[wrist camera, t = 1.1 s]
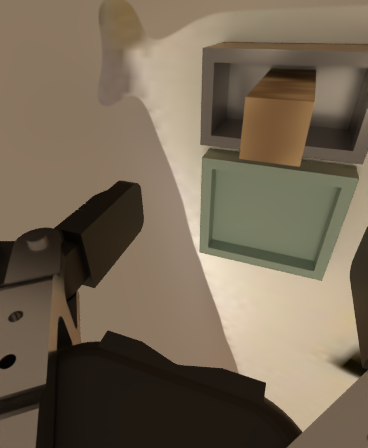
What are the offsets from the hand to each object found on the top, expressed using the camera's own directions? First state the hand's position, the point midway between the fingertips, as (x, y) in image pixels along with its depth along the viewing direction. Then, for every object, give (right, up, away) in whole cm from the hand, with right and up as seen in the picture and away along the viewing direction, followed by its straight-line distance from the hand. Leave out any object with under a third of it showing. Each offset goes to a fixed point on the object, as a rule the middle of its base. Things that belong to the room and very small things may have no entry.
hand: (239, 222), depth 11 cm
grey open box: (+9, +13, +19) cm, 25 cm away
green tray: (+9, +2, +27) cm, 28 cm away
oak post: (+8, +13, +18) cm, 24 cm away
